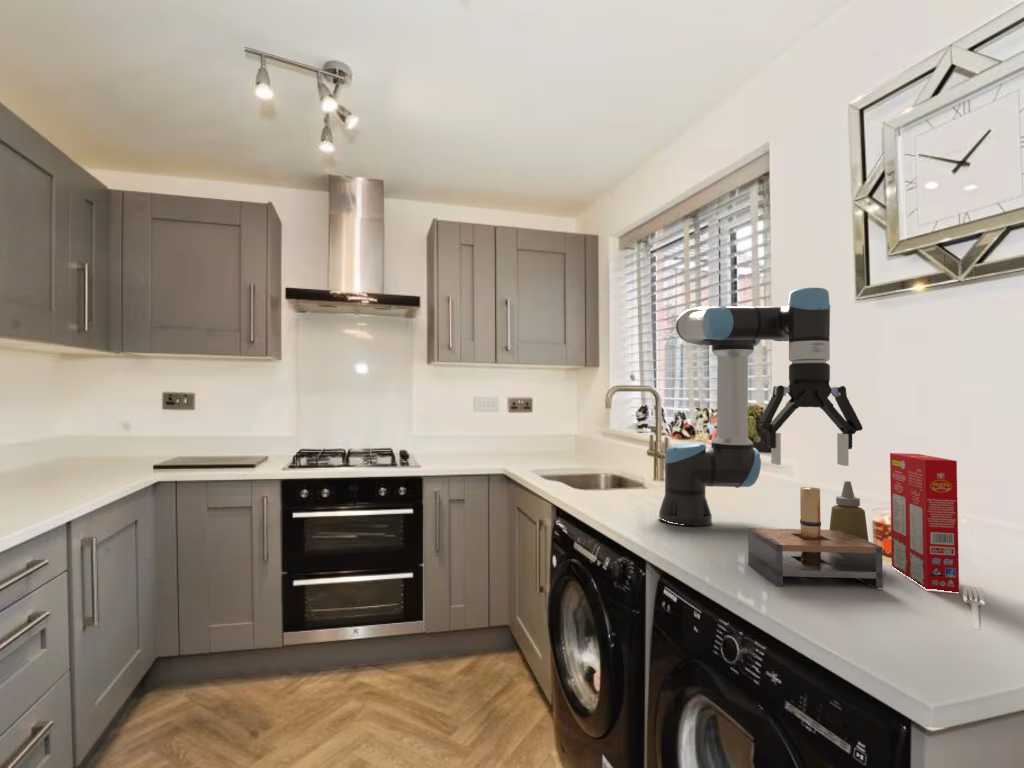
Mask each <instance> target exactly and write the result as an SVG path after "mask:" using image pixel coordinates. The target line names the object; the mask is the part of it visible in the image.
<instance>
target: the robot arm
mask: <svg viewBox="0 0 1024 768" xmlns="http://www.w3.org/2000/svg"><path fill="white" fill-rule="evenodd" d="M830 321H831V304H830V293H829V291H828V290H827V289H826V288H823V287H804V288H797V289H794V290H792V291H790V292H789V295H788V301H787V305H786V306H740V305H738V306H737V305H736V306H735V305H734V306H733V305H731V306H723V305H722V306H697V307H693V308H692V307H691V308H689V309H686V310H684V311H683V312H682V313H680V315H679V316H678V318H677V319H676V322H675V329H676V333H677V335H678V336H679V338H680V339H681V340H683V341H684V342H686V343H690V344H692V345H697V346H711V352H712V354H713V355H715V356H716V359H717V363H716V364H717V366H716V367H717V368H716V369H717V370H716V371H717V372H716V374H717V375H716V377H717V378H716V379H717V381H716V384H717V385H716V386H717V387H716V388H717V389H716V436H715V437H714V438H713V439H712V440H711V443H710V444H711V447H707V446H706V444H705V442H686V443H685V442H684V443H677V444H672V445H669V446H668V447H667V448H666V449H665V454H664V497H663V499H662V502H661V505H660V507H659V508H660V509H659V510H658V511H659V512H658V518H659V517H660V518H661V519H664V520H666V521H669V522H673V523H678V524H684V525H693V526H692V527H703V525H705V526H709V524H710V525H711V524H712V523H713V521H712V520H713V519H712V518H713V516H712V512H711V509H710V507H709V503H708V500H707V498H706V497H707V496H706V487H710V488H711V487H712V488H713V487H717V488H718V487H720V488H721V487H723V488H728V487H729V488H735V489H737V488H738V489H739V488H749V487H752V486H754V484H755V483H756V482H757V481H758V479H759V475H760V473H761V468H762V459H761V454H760V452H759V450H758V449H757V448H755V447H754V442H753V441H752V440H751V439H750V438H749V436H748V429H749V428H748V425H749V423H748V422H749V421H748V420H749V418H748V417H749V416H748V413H749V412H748V411H749V408H748V407H749V404H748V402H749V401H748V400H749V398H748V397H749V396H748V395H749V356H750V355H751V354H752V353H754V351H755V349H754V348H755V347H756V346H758V345H759V344H760V342H761V341H762V340H763V341H764V340H765V341H766V340H771V341H773V342H788V361H789V362H791V364H789V365H788V381H789V384H788V385H787V386H784V385H781V384H779V385H774V386H773V389H772V396H771V398H770V400H769V402H768V403H767V406H766V407H765V410H764V412H763V414H762V416H761V418H760V420H759V421H758V424H757V428H758V429H760V430H763V431H765V432H766V445H767V448H769V449H770V451H771V452H770V453H771V454H770V458H771V462H770V463H771V464H773V465H777V466H781V465H782V455H781V453H782V448H781V447H782V446H781V445H782V442H781V440H782V439H781V438H782V436H781V433H780V432H778V431H779V430H780V428H781V427H782V426H783V425H784V424H785V423H786V421H787V420H788V419H789V418H790V417H791V415H792V414H794V412H795V411H796V410H797V409H799V408H819V409H821V410H822V411H823V412H824V413H825V414H826V416H827V418H828V417H829V419H830V420H831V421H832V422H833V424H834V425H835V426H836V427H837V428H838V430H839V431H840V432H837V433H836V434H837V435H836V436H837V437H836V446H837V447H836V448H837V450H836V452H837V453H836V454H837V457H836V458H837V459H836V461H837V465H840V466H845V467H849V450H852V449H853V435H854V434H856V432H860V431H862V430H863V425H862V423H861V422H860V420H859V418H858V415H857V414H856V412H855V410H854V407H853V406H852V403H851V402H850V399H849V397H848V395H847V389H846V386H844V385H835V386H833V387H832V386H830V379H831V364H829V363H827V362H828V361H830V360H831V359H830V358H831V357H830V356H831V354H830V352H831V349H830V348H831V347H830V345H831V344H830V343H831V341H830V336H831V335H830V332H831V329H830V327H831V323H830ZM787 394H788V395H789V397H790V399H789V400H788V401H787V402H786V403H785V406H784V407H783V408H782V409H781V410H780V411H779V413H777V415H776V412H777V411H778V409H779V406H780V405H781V403H782V401H783V398H784V397H785V396H787ZM830 395H832V397H834V399H835V402H836V403H837V406H838V409H839V410H840V411H841V413H842V414H841V413H840V412H839V411H838V410H837V408H836V407H834V404H833V403H832V402H831V400H830V399H829V396H830ZM775 415H776V416H775Z"/></svg>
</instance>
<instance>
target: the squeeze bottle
mask: <svg viewBox="0 0 1024 768" xmlns="http://www.w3.org/2000/svg"><path fill="white" fill-rule="evenodd" d="M835 502H836V503H835V504H836V505H833V506H831V511H830V521H829V529H828V530H842V531H845V532H847V533H849V534H852V535H854V536H857V537H859V538H861V539H864V540H866V541H869V535H868V534H869V533H868V532H869V531H868V527H867V526H868V524H867V518H866V511H865V510H864V509H863V508H862V507H860V506H861V498H860V497H856V496H855V493H854V489H853V486H852V482H851V481H848V480H846V481H845V480H844V483H843V488H842V492H841V495H838V496H835ZM869 542H870V541H869Z"/></svg>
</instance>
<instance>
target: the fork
mask: <svg viewBox="0 0 1024 768" xmlns="http://www.w3.org/2000/svg"><path fill="white" fill-rule="evenodd" d="M978 590H979V592H978V593H979V601H978V596H977V590H976V586H974V587H973V596H972V588H971V586H968V595H967V587H966V585H964V586H963V591H962V596H965V597H967V598H969V597H970V598H972V600H969V599H967V600H966V602H968V603H967V604H969V606H971V607H970V611H972V613H971V616H972V621H974V622H973V627H974V630H979V631H980V630H981V626H980V610H979V606H981V605H984V604H982V603H980V600H982V601H985V597H984V594H983V590H982V588H981V587H979V589H978ZM973 597H974V598H975V599H977V601H975V600H974V599H973ZM984 606H985V605H984Z"/></svg>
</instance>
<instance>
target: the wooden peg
mask: <svg viewBox="0 0 1024 768" xmlns="http://www.w3.org/2000/svg"><path fill="white" fill-rule="evenodd" d="M799 489H800V491H799V495H800V500H799V501H800V519H799V524H800V529H801V539H802V540H820V541H821V530H822V529H821V526H822V521H821V489H820V488H818V487H812V486H811V487H810V486H809V487H808V486H801V487H800V488H799ZM801 563H803V564H818V565H821V552H801ZM805 578H807V579H811V580H820V579H821V578H822V577H805Z"/></svg>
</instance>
